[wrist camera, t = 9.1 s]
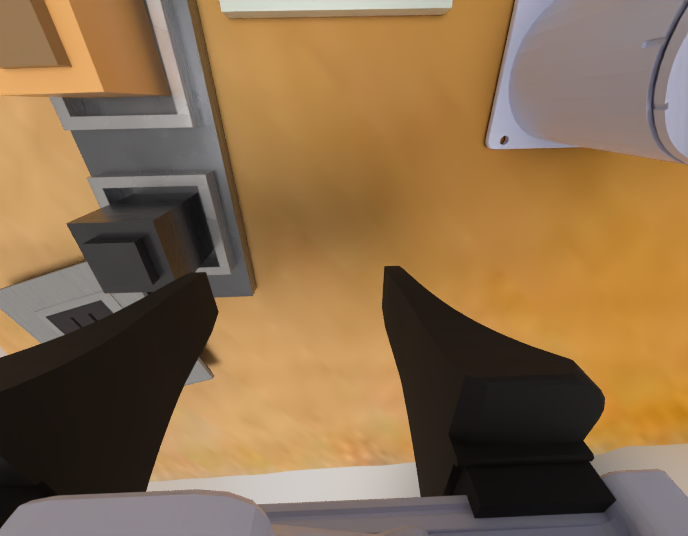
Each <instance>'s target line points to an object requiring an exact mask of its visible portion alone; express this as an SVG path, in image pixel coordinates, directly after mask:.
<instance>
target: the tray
mask: <svg viewBox="0 0 688 536" xmlns="http://www.w3.org/2000/svg"><path fill="white" fill-rule="evenodd" d="M219 1H220V6H221V12H222V13H224V14H225V15H226V16H227V17H229V18H283V17H341V16H400V15H444V14H445V13H446V12H447V11H448V10H450V9H451V8H452V0H219Z"/></svg>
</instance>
